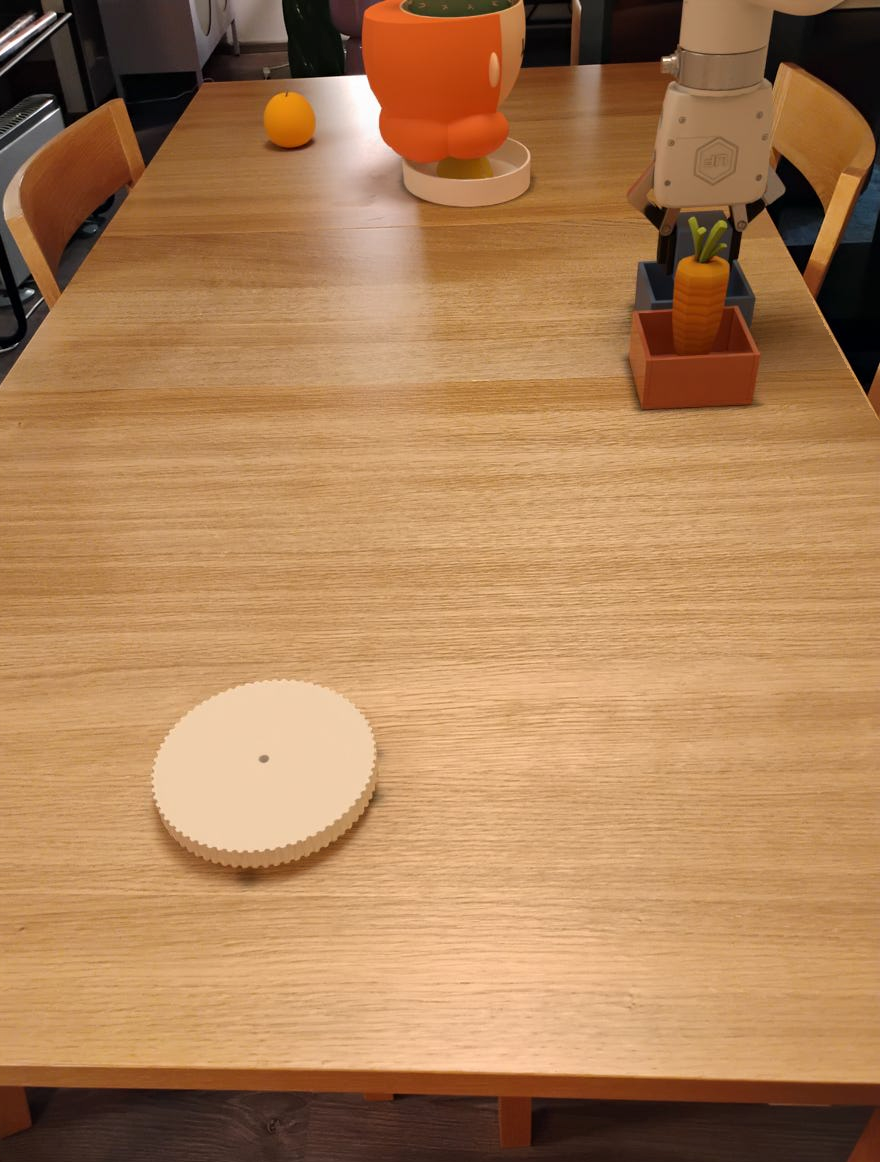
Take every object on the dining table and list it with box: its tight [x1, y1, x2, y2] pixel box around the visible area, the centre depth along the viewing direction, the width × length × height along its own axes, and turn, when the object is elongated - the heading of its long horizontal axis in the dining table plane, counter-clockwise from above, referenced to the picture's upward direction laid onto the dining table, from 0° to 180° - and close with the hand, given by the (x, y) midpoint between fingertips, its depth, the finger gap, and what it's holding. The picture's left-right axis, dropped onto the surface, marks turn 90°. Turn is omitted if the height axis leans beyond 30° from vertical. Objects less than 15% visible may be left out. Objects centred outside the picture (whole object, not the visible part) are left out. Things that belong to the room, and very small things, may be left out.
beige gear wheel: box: [150, 678, 379, 869], centre depth 64 cm, size 14×14×2 cm
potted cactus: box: [361, 0, 531, 208], centre depth 131 cm, size 22×22×35 cm
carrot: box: [672, 217, 730, 356], centre depth 93 cm, size 5×5×15 cm
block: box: [671, 209, 733, 282], centre depth 101 cm, size 5×5×5 cm
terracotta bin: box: [628, 306, 761, 410], centre depth 97 cm, size 10×10×5 cm
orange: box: [263, 91, 317, 149], centre depth 159 cm, size 8×8×8 cm
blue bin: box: [633, 259, 757, 332], centre depth 105 cm, size 10×10×5 cm
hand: (695, 266), depth 103 cm, fingers closed on block, 5 cm apart
